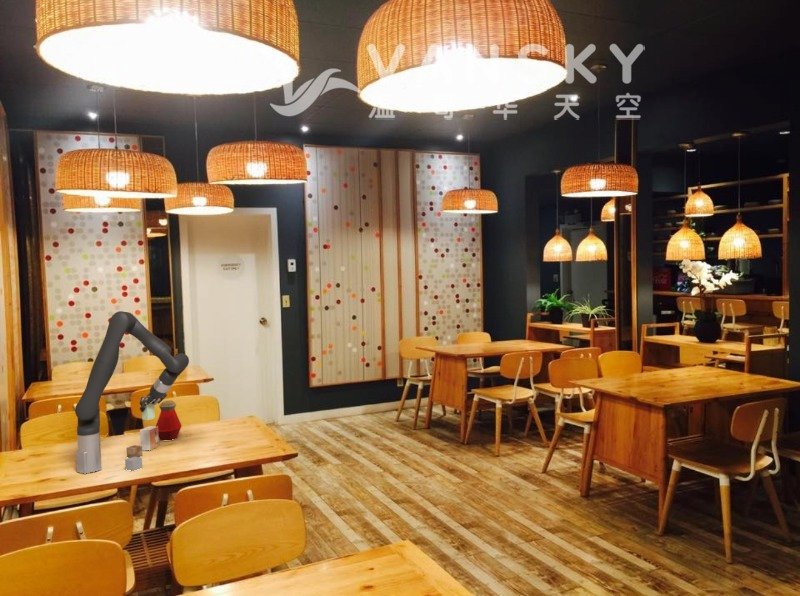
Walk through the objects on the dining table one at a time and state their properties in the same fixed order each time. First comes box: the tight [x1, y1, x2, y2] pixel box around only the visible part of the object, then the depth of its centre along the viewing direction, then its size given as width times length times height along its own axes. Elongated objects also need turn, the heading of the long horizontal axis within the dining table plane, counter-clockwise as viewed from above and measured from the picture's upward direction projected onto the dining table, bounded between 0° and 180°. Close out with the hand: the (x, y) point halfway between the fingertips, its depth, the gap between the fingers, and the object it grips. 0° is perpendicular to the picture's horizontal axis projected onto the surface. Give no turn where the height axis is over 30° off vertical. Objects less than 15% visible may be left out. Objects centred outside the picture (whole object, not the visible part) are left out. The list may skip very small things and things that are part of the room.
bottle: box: [155, 400, 182, 441], centre depth 339 cm, size 16×14×20 cm
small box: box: [139, 425, 160, 451], centre depth 322 cm, size 8×6×10 cm
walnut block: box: [126, 444, 143, 459], centre depth 308 cm, size 5×5×5 cm
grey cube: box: [124, 457, 143, 472], centre depth 289 cm, size 5×5×5 cm
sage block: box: [141, 403, 156, 421], centre depth 302 cm, size 4×4×7 cm
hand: (145, 409), depth 303 cm, fingers closed on sage block, 4 cm apart
